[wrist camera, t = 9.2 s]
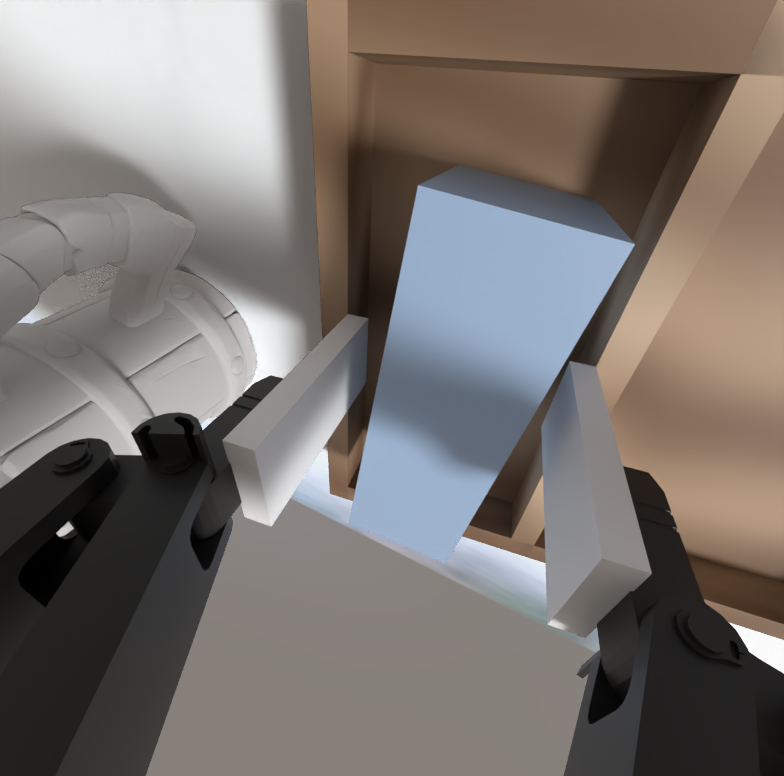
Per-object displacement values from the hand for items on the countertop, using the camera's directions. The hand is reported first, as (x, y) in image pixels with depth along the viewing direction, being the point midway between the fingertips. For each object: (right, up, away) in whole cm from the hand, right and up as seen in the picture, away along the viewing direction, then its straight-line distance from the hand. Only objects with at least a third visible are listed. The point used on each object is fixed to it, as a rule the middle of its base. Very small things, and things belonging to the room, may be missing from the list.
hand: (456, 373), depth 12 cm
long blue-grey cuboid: (+1, +1, +2) cm, 2 cm away
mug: (-11, +4, +5) cm, 13 cm away
